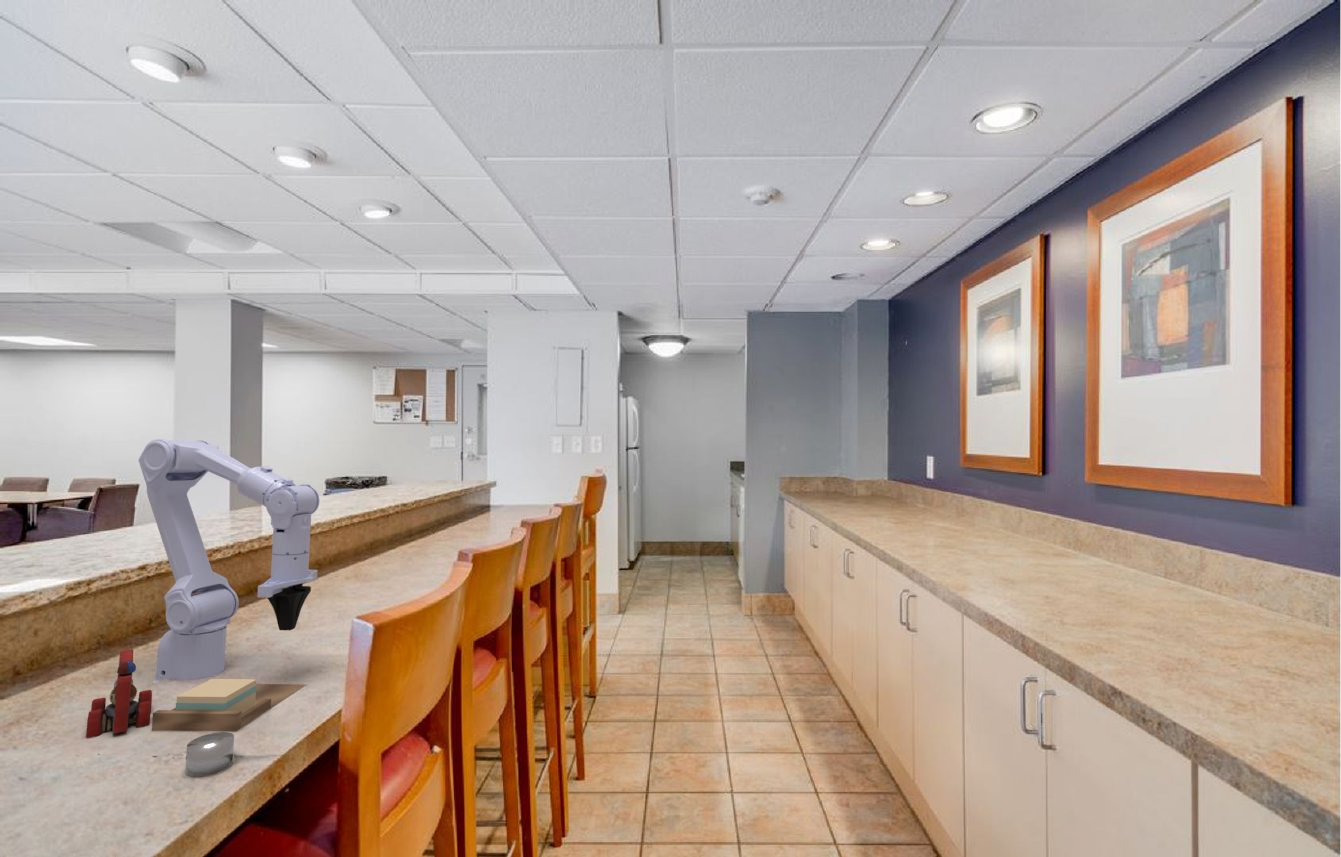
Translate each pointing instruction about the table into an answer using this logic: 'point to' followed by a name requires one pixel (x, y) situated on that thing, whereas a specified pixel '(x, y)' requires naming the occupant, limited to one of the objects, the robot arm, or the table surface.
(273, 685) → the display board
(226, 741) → the grey tin
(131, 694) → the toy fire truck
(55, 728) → the table surface
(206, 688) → the carton
